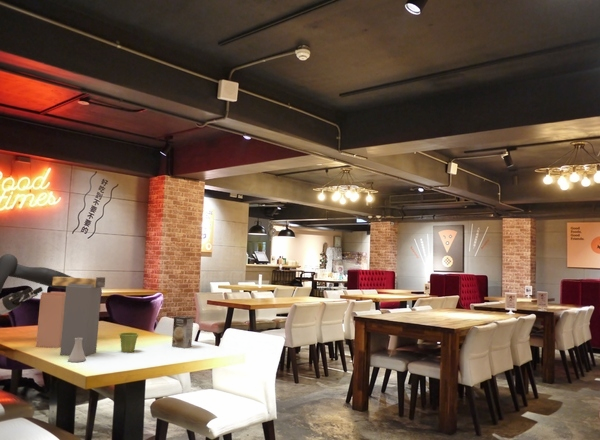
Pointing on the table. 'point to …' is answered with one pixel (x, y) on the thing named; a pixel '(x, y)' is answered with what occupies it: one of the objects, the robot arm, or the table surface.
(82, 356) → the flask
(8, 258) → the robot arm
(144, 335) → the table surface
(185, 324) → the coffee box
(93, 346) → the grey stand
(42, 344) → the block
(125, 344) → the plant pot
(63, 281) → the wooden pin
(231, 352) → the table surface
